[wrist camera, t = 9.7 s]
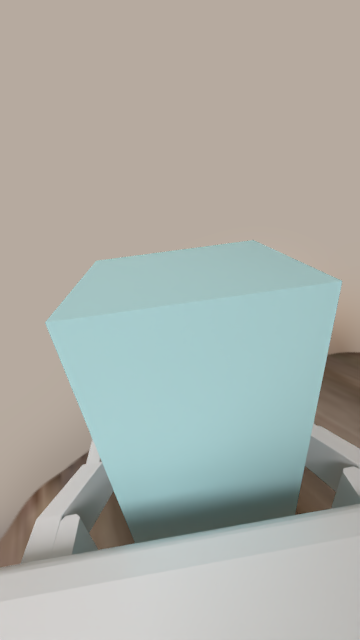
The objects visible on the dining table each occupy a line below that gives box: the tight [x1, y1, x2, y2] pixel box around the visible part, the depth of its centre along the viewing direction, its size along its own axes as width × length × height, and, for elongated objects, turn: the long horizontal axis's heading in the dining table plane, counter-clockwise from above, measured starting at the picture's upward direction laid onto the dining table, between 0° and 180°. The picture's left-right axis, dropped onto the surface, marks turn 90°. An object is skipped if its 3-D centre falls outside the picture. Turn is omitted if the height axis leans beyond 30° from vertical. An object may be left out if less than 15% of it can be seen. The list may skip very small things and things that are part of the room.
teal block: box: [45, 240, 342, 543], centre depth 11 cm, size 5×6×18 cm
